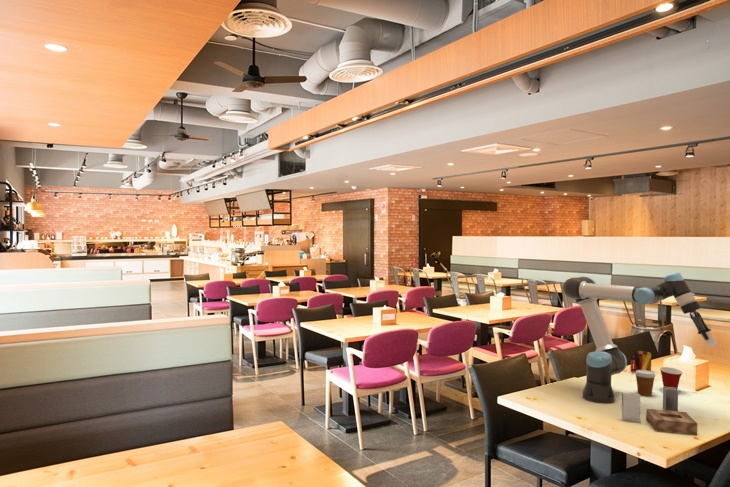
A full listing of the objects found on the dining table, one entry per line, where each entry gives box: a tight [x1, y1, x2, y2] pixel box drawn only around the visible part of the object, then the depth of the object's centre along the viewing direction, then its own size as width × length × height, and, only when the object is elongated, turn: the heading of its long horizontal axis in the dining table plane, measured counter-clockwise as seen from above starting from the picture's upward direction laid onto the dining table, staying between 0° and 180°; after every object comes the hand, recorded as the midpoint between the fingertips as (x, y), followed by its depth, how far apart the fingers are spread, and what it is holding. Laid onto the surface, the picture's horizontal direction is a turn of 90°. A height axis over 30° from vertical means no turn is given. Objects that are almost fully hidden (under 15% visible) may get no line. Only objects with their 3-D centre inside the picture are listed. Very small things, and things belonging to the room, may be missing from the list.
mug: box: [630, 350, 652, 373], centre depth 309 cm, size 10×14×12 cm
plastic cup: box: [659, 366, 684, 390], centre depth 271 cm, size 11×11×12 cm
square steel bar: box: [662, 386, 679, 411], centre depth 237 cm, size 5×5×12 cm
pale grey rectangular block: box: [621, 391, 641, 423], centre depth 228 cm, size 7×3×12 cm, turn 74°
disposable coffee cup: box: [634, 370, 656, 397], centre depth 266 cm, size 10×10×12 cm
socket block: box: [645, 408, 698, 436], centre depth 220 cm, size 16×14×5 cm
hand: (713, 346), depth 230 cm, fingers open, 13 cm apart
